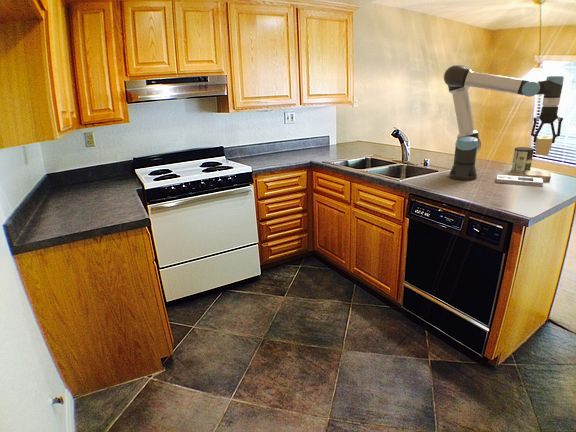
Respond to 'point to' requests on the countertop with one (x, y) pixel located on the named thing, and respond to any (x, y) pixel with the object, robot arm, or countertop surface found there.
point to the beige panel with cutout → (519, 180)
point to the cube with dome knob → (543, 146)
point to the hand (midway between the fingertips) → (542, 148)
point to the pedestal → (538, 174)
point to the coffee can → (522, 159)
